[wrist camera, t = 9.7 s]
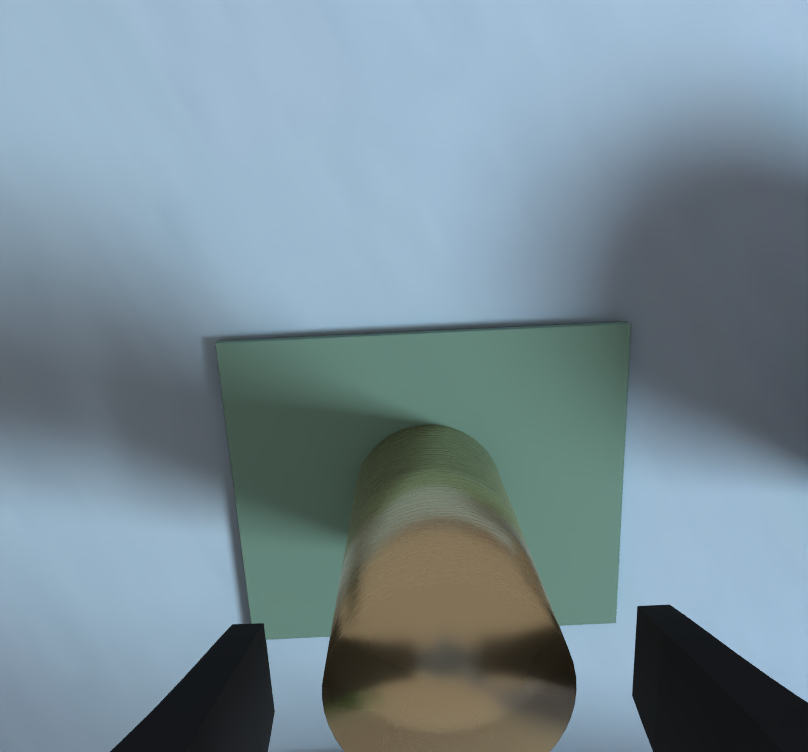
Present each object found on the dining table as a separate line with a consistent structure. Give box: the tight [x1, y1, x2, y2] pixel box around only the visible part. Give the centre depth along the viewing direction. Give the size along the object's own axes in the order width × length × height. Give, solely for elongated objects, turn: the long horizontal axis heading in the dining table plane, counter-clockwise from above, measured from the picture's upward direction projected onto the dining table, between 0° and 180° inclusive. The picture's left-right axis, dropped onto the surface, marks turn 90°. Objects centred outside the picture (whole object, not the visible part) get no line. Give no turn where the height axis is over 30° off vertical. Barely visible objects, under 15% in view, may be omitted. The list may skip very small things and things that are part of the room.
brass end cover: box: [322, 425, 576, 752], centre depth 14 cm, size 4×4×8 cm
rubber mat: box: [215, 321, 631, 640], centre depth 18 cm, size 12×10×1 cm
